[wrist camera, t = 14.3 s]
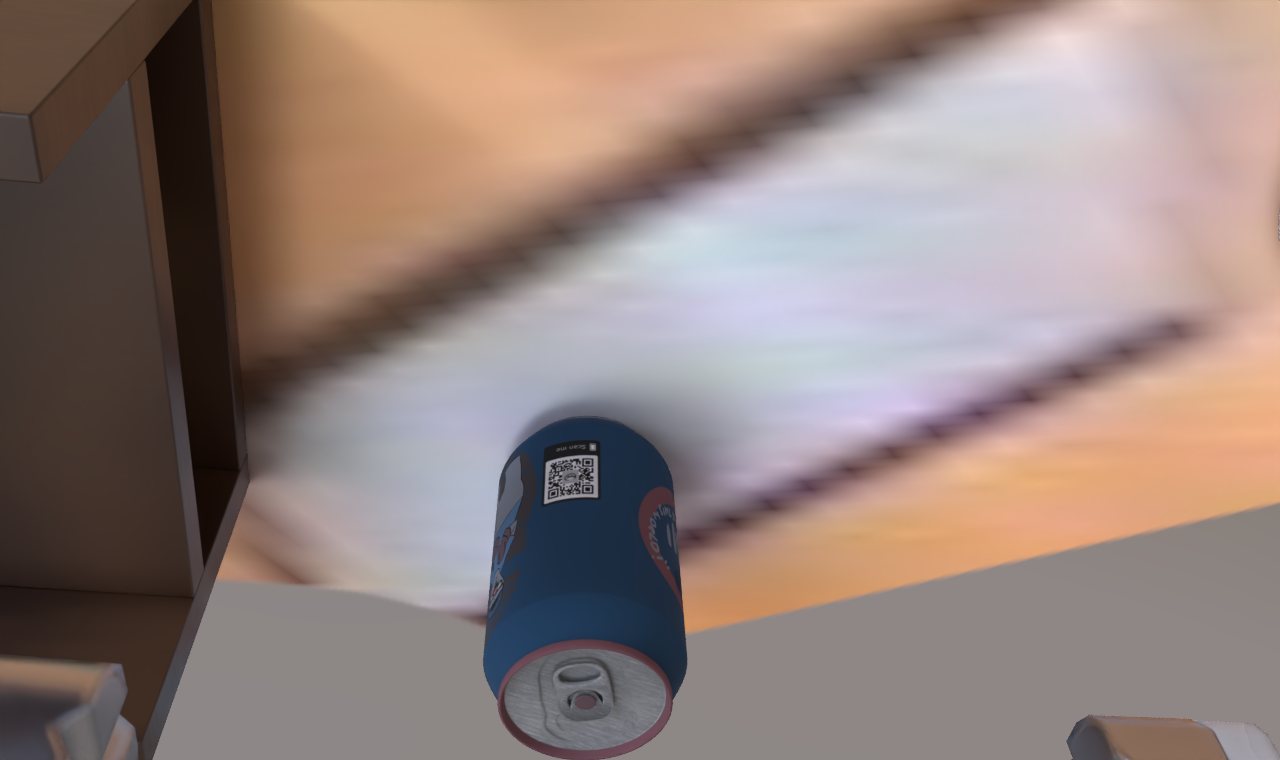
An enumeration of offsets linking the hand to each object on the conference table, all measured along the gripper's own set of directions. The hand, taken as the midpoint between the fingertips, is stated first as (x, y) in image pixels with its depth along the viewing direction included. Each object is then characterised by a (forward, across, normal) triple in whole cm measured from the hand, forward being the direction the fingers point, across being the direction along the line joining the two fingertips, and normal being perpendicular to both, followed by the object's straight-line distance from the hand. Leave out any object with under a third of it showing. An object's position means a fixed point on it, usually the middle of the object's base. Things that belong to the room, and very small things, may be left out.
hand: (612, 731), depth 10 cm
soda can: (+31, -2, +23) cm, 39 cm away
